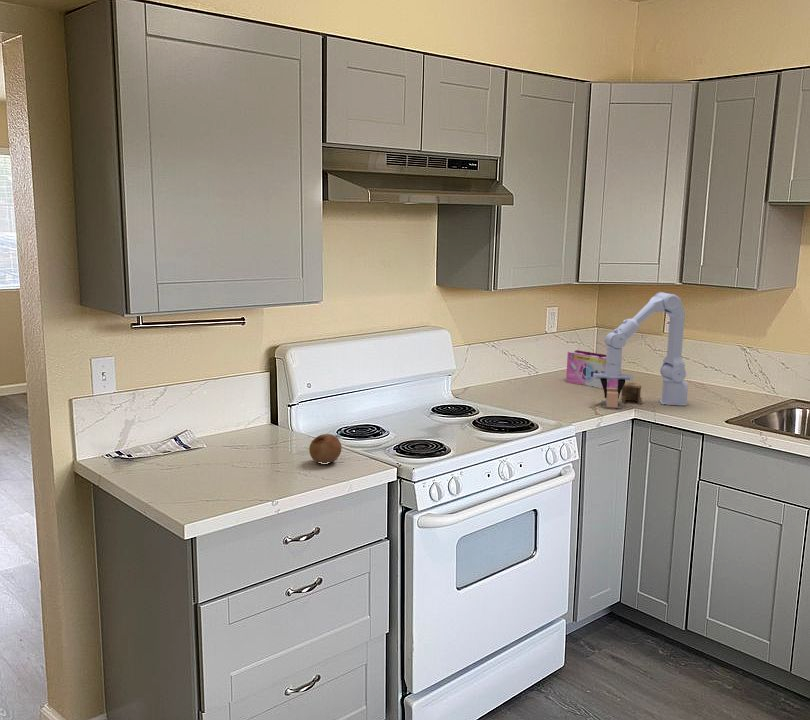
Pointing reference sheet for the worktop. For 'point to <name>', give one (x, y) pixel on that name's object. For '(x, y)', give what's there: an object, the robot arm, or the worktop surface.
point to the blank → (612, 397)
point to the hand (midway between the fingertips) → (611, 397)
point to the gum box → (587, 369)
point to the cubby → (631, 392)
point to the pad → (610, 407)
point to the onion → (325, 448)
